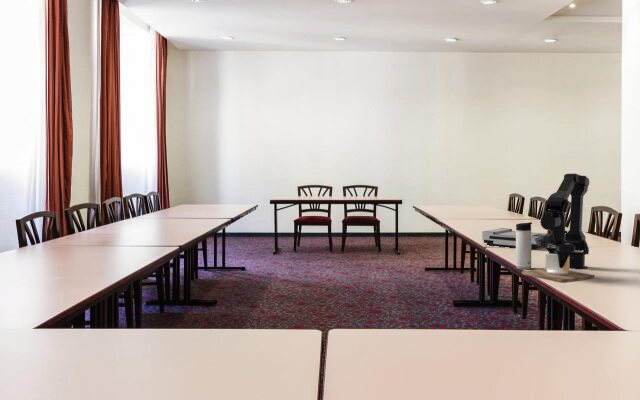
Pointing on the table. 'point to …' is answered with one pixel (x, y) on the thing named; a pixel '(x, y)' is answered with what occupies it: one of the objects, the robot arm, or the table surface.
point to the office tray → (505, 238)
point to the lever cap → (556, 265)
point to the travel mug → (523, 246)
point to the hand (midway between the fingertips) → (557, 266)
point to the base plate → (558, 278)
